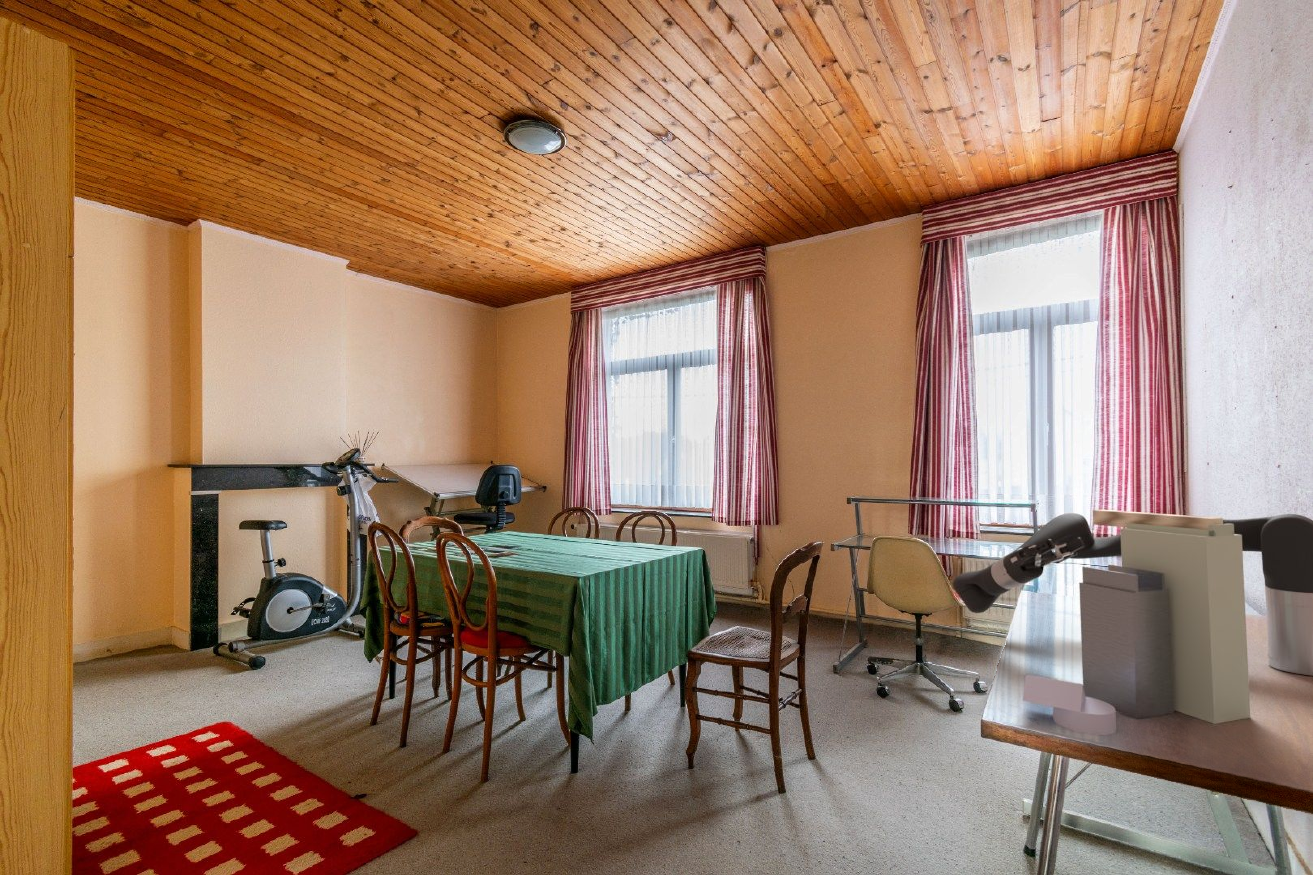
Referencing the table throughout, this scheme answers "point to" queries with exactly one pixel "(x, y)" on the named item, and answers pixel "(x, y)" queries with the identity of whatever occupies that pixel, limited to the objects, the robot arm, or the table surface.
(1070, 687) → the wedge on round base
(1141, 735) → the table surface
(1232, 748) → the table surface
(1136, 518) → the rail
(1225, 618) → the pale green tall block
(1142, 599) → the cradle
